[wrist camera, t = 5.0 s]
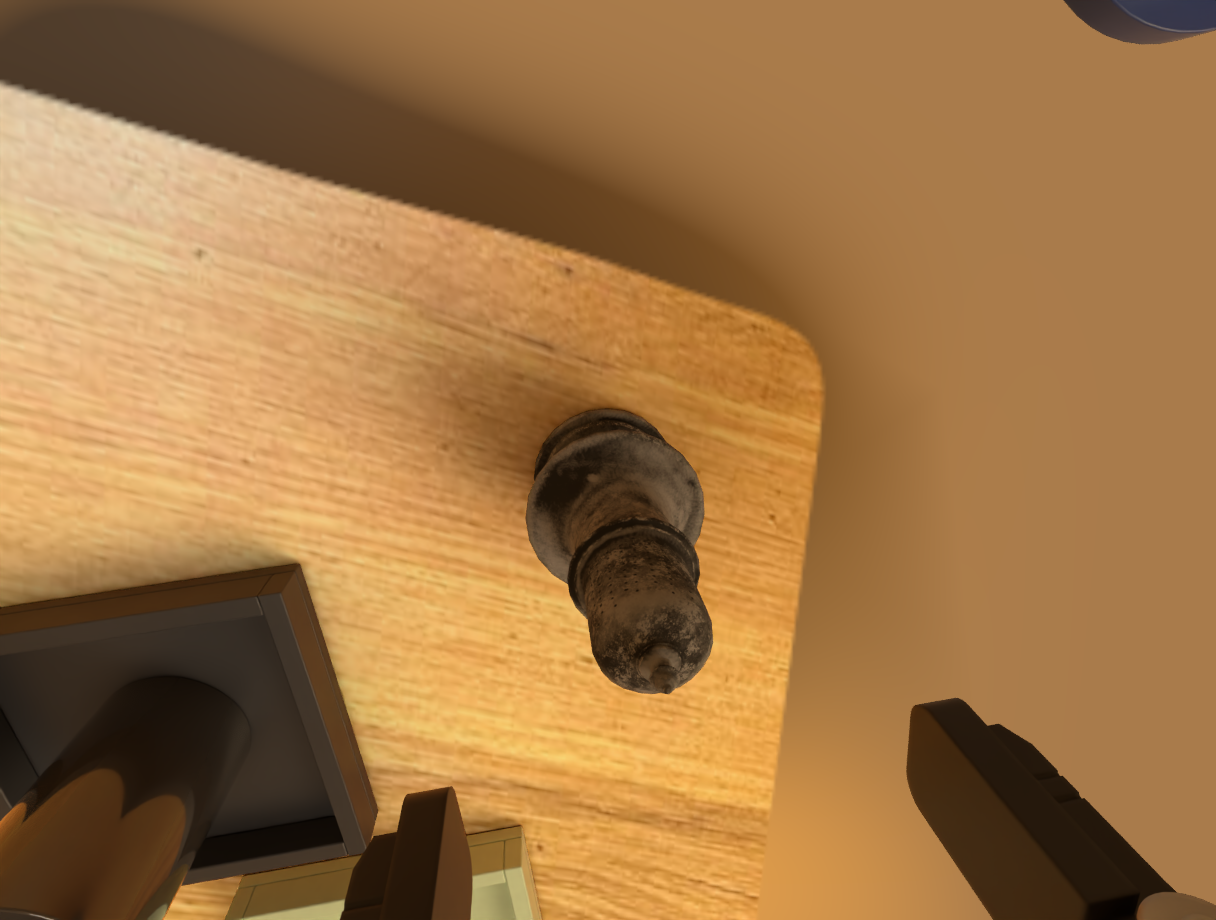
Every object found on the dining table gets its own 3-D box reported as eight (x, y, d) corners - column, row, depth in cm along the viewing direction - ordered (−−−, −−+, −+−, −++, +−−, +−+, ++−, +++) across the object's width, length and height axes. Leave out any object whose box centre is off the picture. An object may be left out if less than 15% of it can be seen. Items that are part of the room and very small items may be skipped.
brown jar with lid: (226, 664, 25) (41, 940, 15) (269, 775, 27) (129, 1079, 17) (73, 688, 24) (-215, 987, 15) (128, 799, 26) (-95, 1124, 17)
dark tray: (300, 562, 24) (280, 592, 22) (378, 809, 29) (368, 853, 27) (-57, 615, 24) (-110, 651, 22) (82, 862, 28) (48, 910, 26)
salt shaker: (676, 543, 26) (788, 790, 15) (527, 548, 25) (527, 810, 14) (686, 399, 24) (824, 560, 13) (524, 401, 23) (521, 571, 12)
